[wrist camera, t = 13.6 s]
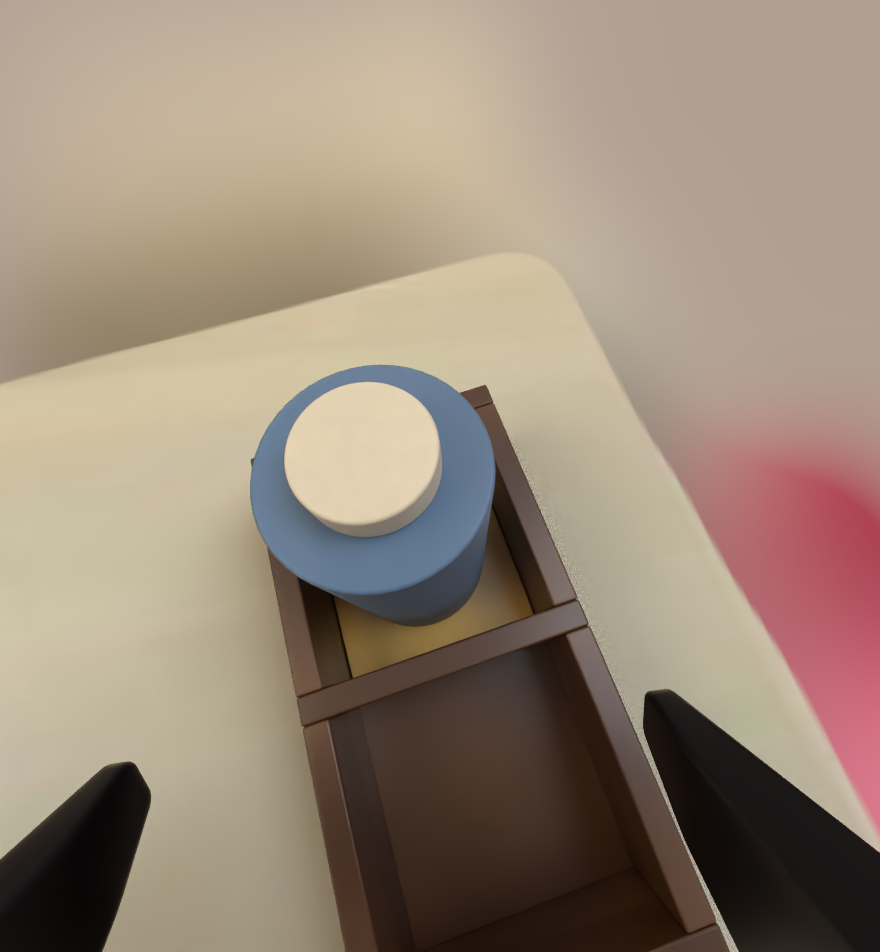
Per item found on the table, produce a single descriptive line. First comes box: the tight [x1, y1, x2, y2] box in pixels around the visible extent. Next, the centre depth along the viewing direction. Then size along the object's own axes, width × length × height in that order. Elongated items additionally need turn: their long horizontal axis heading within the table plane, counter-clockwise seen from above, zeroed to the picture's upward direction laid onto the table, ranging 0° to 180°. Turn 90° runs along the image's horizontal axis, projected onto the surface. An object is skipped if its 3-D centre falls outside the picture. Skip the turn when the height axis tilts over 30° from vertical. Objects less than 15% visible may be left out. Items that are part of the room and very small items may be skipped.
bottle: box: [250, 365, 496, 627], centre depth 14 cm, size 5×5×10 cm
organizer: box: [251, 385, 730, 952], centre depth 16 cm, size 17×9×4 cm, turn 18°
